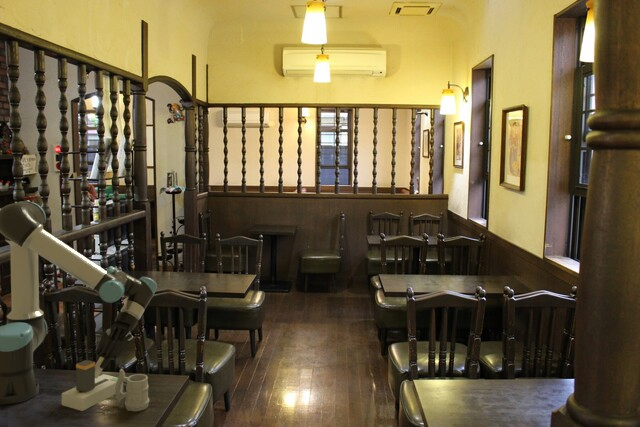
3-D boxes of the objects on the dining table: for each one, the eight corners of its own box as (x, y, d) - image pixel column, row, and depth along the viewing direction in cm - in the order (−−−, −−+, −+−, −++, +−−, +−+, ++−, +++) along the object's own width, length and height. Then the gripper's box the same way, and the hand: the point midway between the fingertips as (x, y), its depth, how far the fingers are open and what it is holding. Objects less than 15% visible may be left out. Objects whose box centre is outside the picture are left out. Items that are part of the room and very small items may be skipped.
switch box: (61, 405, 171) (61, 392, 171) (103, 384, 187) (103, 373, 187) (82, 411, 168) (82, 398, 167) (123, 389, 184) (123, 378, 184)
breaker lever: (75, 390, 173) (76, 363, 172) (85, 385, 177) (85, 359, 176) (85, 392, 171) (85, 366, 170) (94, 387, 175) (95, 361, 174)
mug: (141, 413, 168) (142, 377, 167) (108, 408, 170) (108, 373, 169) (153, 403, 175) (154, 368, 174) (121, 398, 177) (122, 364, 176)
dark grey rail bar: (104, 383, 189) (104, 379, 189) (106, 381, 190) (106, 378, 190) (130, 389, 184) (130, 386, 184) (132, 388, 186) (132, 385, 185)
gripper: (148, 324, 191) (114, 384, 177) (120, 318, 196) (85, 377, 182) (138, 313, 185) (102, 375, 171) (110, 308, 190) (72, 367, 176)
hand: (93, 376), depth 177 cm, fingers closed
